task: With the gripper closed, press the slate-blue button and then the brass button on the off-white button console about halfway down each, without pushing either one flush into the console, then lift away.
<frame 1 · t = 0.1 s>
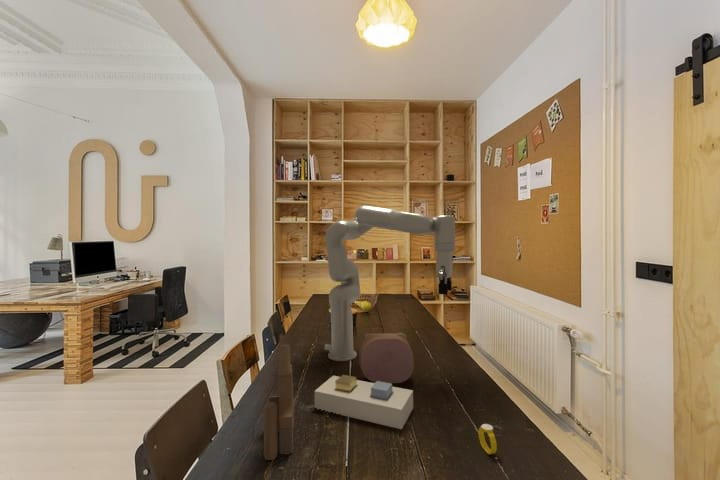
hand: (445, 292, 126), 31 cm above the table, tool pointing down, fingers open, 9 cm apart
slate-blue button: (381, 390, 99), point 7 cm above the table, slide at 0.0 cm
face sculpture: (386, 380, 120), on the table
brass button: (346, 383, 104), point 7 cm above the table, slide at 0.0 cm
wooden toy: (280, 441, 86), on the table
button console: (363, 408, 101), on the table
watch: (487, 451, 81), on the table
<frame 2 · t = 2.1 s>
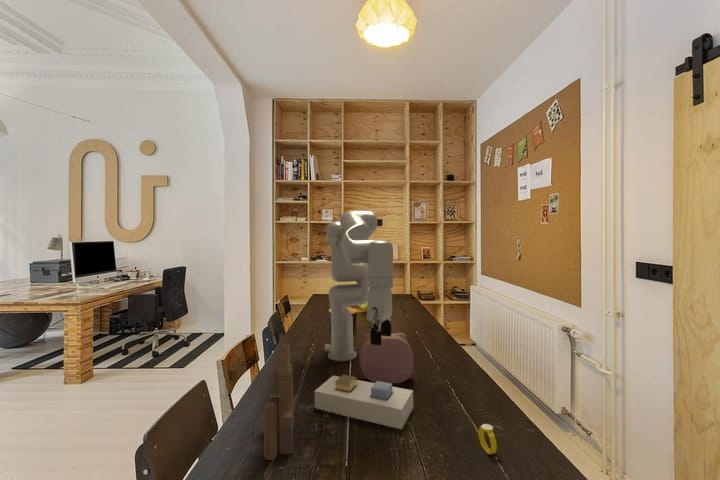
hand: (381, 339, 98), 22 cm above the table, tool pointing down, fingers open, 8 cm apart
nothing on the table moved.
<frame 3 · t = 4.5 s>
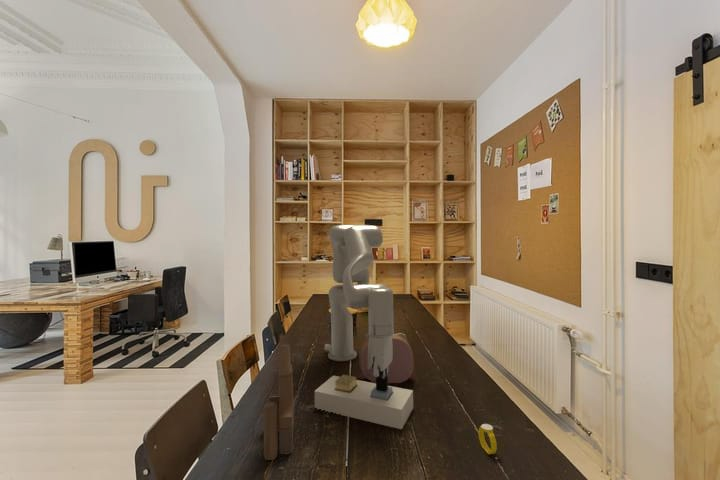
hand: (382, 389, 98), 7 cm above the table, tool pointing down, fingers closed
slate-blue button: (381, 394, 99), point 6 cm above the table, slide at 1.1 cm, touching gripper
everything else where it was.
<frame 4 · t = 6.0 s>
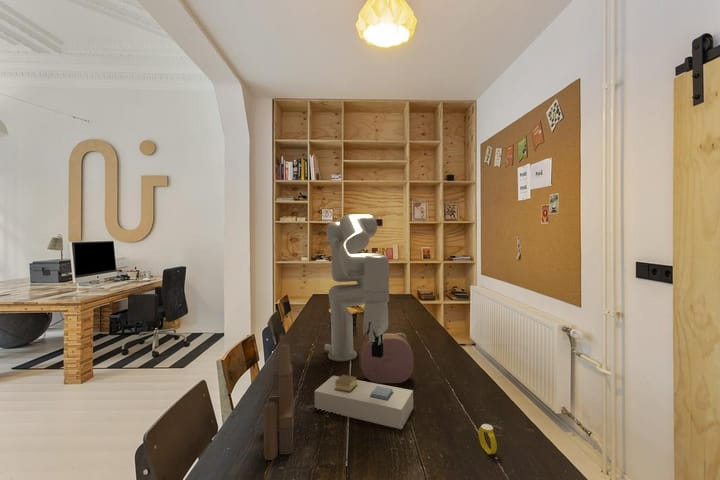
hand: (377, 356, 99), 17 cm above the table, tool pointing down, fingers closed
slate-blue button: (381, 395, 99), point 5 cm above the table, slide at 1.6 cm
everything else where it was.
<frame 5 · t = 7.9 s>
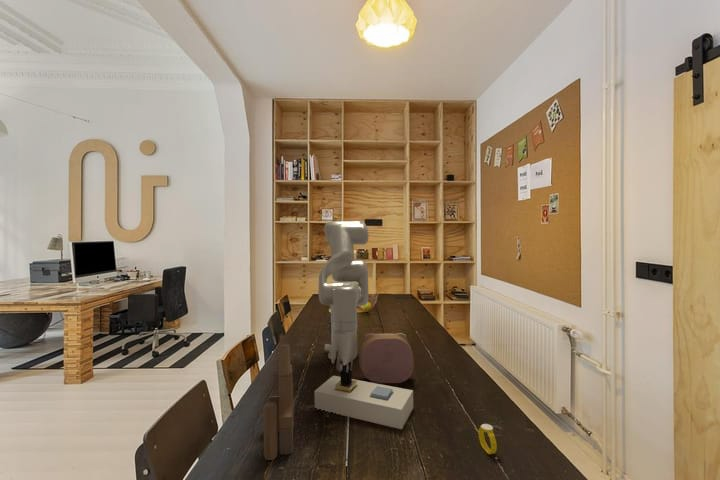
hand: (346, 383, 103), 7 cm above the table, tool pointing down, fingers closed
brass button: (346, 387, 104), point 6 cm above the table, slide at 1.2 cm, touching gripper
everything else where it was.
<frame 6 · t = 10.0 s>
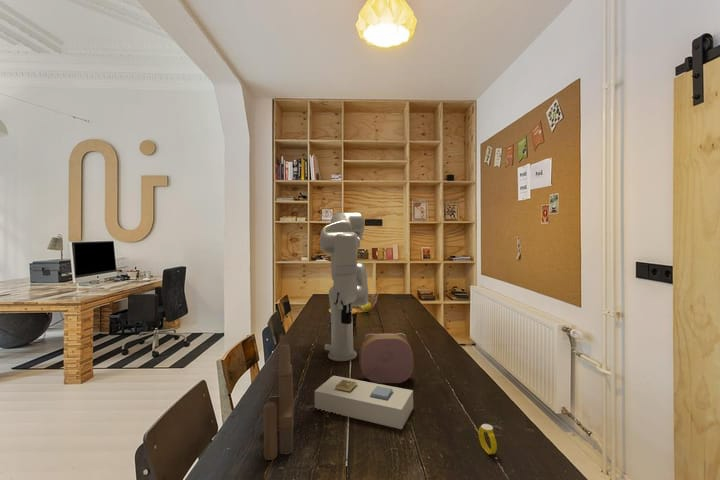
hand: (346, 323, 112), 24 cm above the table, tool pointing down, fingers closed
brass button: (346, 388, 104), point 5 cm above the table, slide at 1.6 cm
everything else where it was.
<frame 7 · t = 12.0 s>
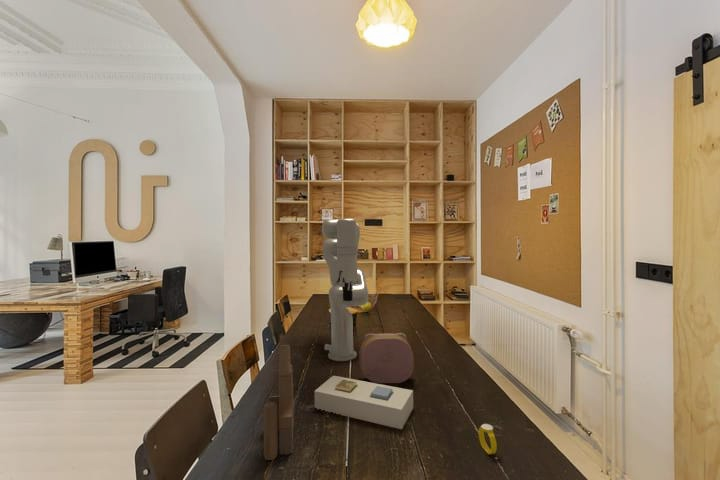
hand: (347, 300, 123), 29 cm above the table, tool pointing down, fingers closed
nothing on the table moved.
at the end: slate-blue button slide at 1.6 cm; brass button slide at 1.6 cm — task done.
